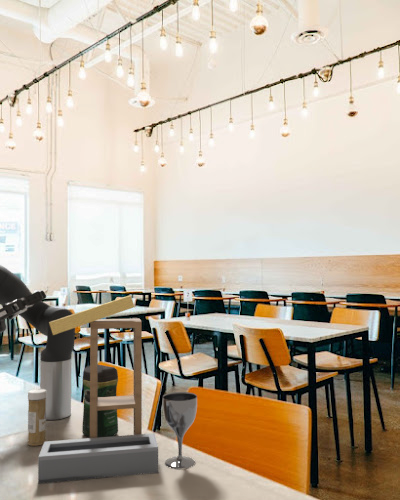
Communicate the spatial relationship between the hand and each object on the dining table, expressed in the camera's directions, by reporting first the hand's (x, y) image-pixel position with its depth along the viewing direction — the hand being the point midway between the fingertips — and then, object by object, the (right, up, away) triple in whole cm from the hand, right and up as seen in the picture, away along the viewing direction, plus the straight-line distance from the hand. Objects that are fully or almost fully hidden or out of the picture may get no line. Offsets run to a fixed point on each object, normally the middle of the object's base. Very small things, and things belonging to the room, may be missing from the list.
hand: (43, 294), depth 113 cm
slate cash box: (+17, -38, -13) cm, 44 cm away
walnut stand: (+19, -38, -4) cm, 43 cm away
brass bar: (+14, -6, -4) cm, 16 cm away
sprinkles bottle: (-3, -39, +3) cm, 39 cm away
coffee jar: (+12, -39, +9) cm, 42 cm away
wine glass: (+35, -38, -10) cm, 53 cm away
